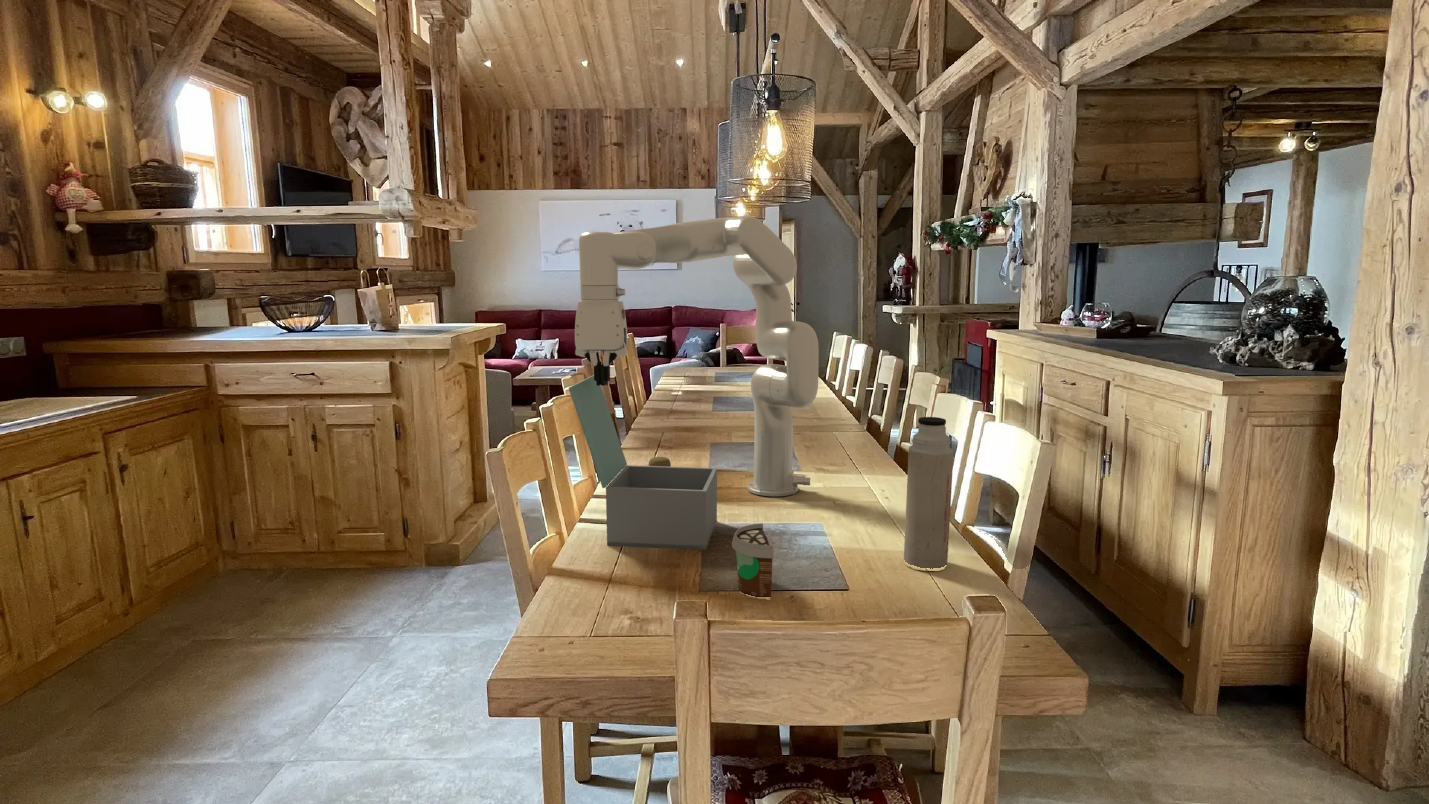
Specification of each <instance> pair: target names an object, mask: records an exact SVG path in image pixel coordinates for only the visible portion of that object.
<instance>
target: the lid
mask: <svg viewBox="0 0 1429 804" xmlns="http://www.w3.org/2000/svg"><path fill="white" fill-rule="evenodd" d="M568 390H569V393H570V396H571V399H572V402H573V405H574V409H575V411H576V414H577V417H578V420H579V423H580V427H581V428H582V431H583V434H584V437H585V440H586V444H587V446H588V449H589V453H590V455H591V458H592V461H593V465H594V467H595V469H596V472H597V476H598V478H599V482H600V485H601V487H602V489H606V487H607V486H608V485H609V484H610V483H611V482H612V481H613V479H614V478H615V477H616V476H617V475H618V474H619V473H620V472H621V471H622V470H623V469H624V468H625V467H626V466H627V465H628V463H627V460H626V457H625V454H624V451H623V449H622V448H623V447H622V445H621V442H620V438H619V437H618V436H619V435H618V433H617V431H616V430H617V429H616V427H615V424H614V420H613V418H612V416H611V412H610V410H609V406H608V404H607V400H606V397H605V394H604V391H603V389H602V385H600V386H597V385H596V381H594V374H593V375H590V376H589V377H587V378H585V379H583V380H581V381H579V382H577V383H575V384H573V385H571V386H569V387H568Z"/></svg>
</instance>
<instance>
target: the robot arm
mask: <svg viewBox="0 0 1429 804" xmlns="http://www.w3.org/2000/svg"><path fill="white" fill-rule="evenodd" d="M578 247H579V248H578V249H579V250H578V251H579V254H578V255H579V276H580V277H579V279H580V282H579V283H580V284H579V285H580V301H579V300H578V302H577V306H576V312H575V313H576V314H575V321H574V323H575V324H574V345H575V351H574V352H575V353H574V355H576V357H577V356H579V357H581V358H585V359H586V360H587V361H588V362H589V363H590V364H591V365H592V367H593V375H594V381H596V385H597V386H600V385H601V387H603V386H606V385H608V383H609V382H610V381H611V364H612V363H613V362H614V361H615V360H616V359H618V358H623V357H625V356H627V355H628V349H627V347H628V342H629V341H628V340H629V339H628V337H629V335H628V326H627V318H626V312H625V306H624V302H623V301H622V300H620V297H623V296H625V295H626V288H621V287H620V285H619V270H618V269H623V270H625V269H628V270H640V269H644V268H646V267H649V266H650V265H652V264H656V263H657V264H659V263H661V264H662V263H663V264H665V263H666V264H680V263H691V262H697V261H703V260H710V259H715V258H722V257H723V258H724V257H729V256H730V257H731V256H734V257H733V261H732V267H733V271H734V274H735V275H736V277H737V278H738V279H739V280H740V281H741V282H742V283H743V284H744V285H745V286H746V287H747V288H748V289H749V290H750V292H751V293H752V295H753V297H754V302H755V311H756V314H755V316H756V319H755V322H756V324H755V326H756V328H755V329H756V333H755V335H756V348H757V350H758V353H759V354H760V355H761V356H762V357H764V358H767V359H770V360H771V359H772V360H776V361H777V360H778V361H784V362H786V363H785V364H786V365H783V364H778V363H777V364H775V363H768V364H763V365H761V366H759V367H758V368H756V370H754V372H753V374H752V376H751V379H750V380H751V381H750V391H751V397H752V401H753V402H752V403H753V411H754V412H753V413H754V429H753V430H754V433H753V435H754V436H753V437H754V438H753V440H754V441H753V443H754V446H753V453H754V454H753V480H752V481H751V482H749V483H748V484H747V490H748V492H750V493H752V494H754V495H758V496H763V497H787V496H791V495H794V494H796V493H797V492H798V491H799V486H800V485H801V486H811V477H806V476H805V475H797V474H794V472H795V471H794V469H793V452H794V451H793V449H794V448H793V447H794V445H793V443H794V441H793V440H794V439H793V438H794V417H793V414H792V410H791V408H794V409H795V408H796V409H804V408H807V407H809V406H811V405H812V404H813V402H815V399H816V397H817V394H818V390H819V362H820V361H819V357H820V356H819V353H820V352H819V340H818V339H819V338H818V335H817V333H816V331H815V329H814V328H813V327H812V326H811V325H809V323H806V322H802V321H798V320H797V321H794V320H793V316H792V315H793V314H792V313H793V312H792V310H793V309H792V298H791V293H790V291H789V288H788V286H787V284H788V283H790V282H792V280H793V279H794V278H795V276H796V274H797V270H798V265H797V259H796V257H795V255H794V252H793V251H792V250H791V249H790V247H788V245H786V244H785V242H783V240H781V239H780V237H778V235H777V234H776V233H775V232H774V231H772V230H771V229H770V228H769V226H767V225H766V224H765V223H764V222H762V221H761V220H760V219H758V218H757V217H754V216H751V215H742V216H729V217H728V216H727V217H718V218H709V219H708V218H707V219H701V220H692V221H684V222H677V223H671V224H665V225H660V226H655V227H647V228H641V229H639V228H638V229H633V230H632V229H631V230H625V231H615V232H614V231H613V232H609V231H587V232H586V231H585V232H583V233H582V234H580V236H579V239H578ZM600 352H603V358H602V361H601V354H600ZM798 485H799V486H798Z"/></svg>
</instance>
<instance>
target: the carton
mask: <svg viewBox="0 0 1429 804" xmlns="http://www.w3.org/2000/svg"><path fill="white" fill-rule="evenodd" d="M605 505H606V507H605V508H606V509H605V510H606V511H605V512H606V515H605V516H606V545H607V546H609V547H632V548H651V549H652V548H654V549H673V550H674V549H675V550H695V551H698V550H699V551H706V550H707V548H708V545H709V544H710V541H711V538H712V534H713V532H714V529H715V527H716V524H717V523H718V512H717V511H718V468H715V467H692V466H690V467H689V466H670V467H666V466H649V465H631V464H629V465H628V464H627V465H626V466H625V467H624V468H623V469H622V470H621V472H620V473H619V474H618V475H617V476H616V477H615V478H614V479H613V480H612V481H611V482H610V483H609V484H608V485H607V487H606V488H605Z"/></svg>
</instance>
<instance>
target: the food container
mask: <svg viewBox="0 0 1429 804" xmlns="http://www.w3.org/2000/svg"><path fill="white" fill-rule="evenodd" d="M731 547H732V549H733V550H734V551H735V555H736V557H735V558H736V568H737V569H736V572H737V573H736V574H737V587H738V588H739V590H738V591H741V592H742V593H744V594H748V595H751V596H755V597H771V598H772V581H773V559H774V549H773V548H774V546H773V545H771V544H769V540H768V537H767V535H766V534H765V532H764V523H752V524H747V525H744V526H742V527H738V528H737V530H736V531H735V532H734V534H733V537H732V542H731Z"/></svg>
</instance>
